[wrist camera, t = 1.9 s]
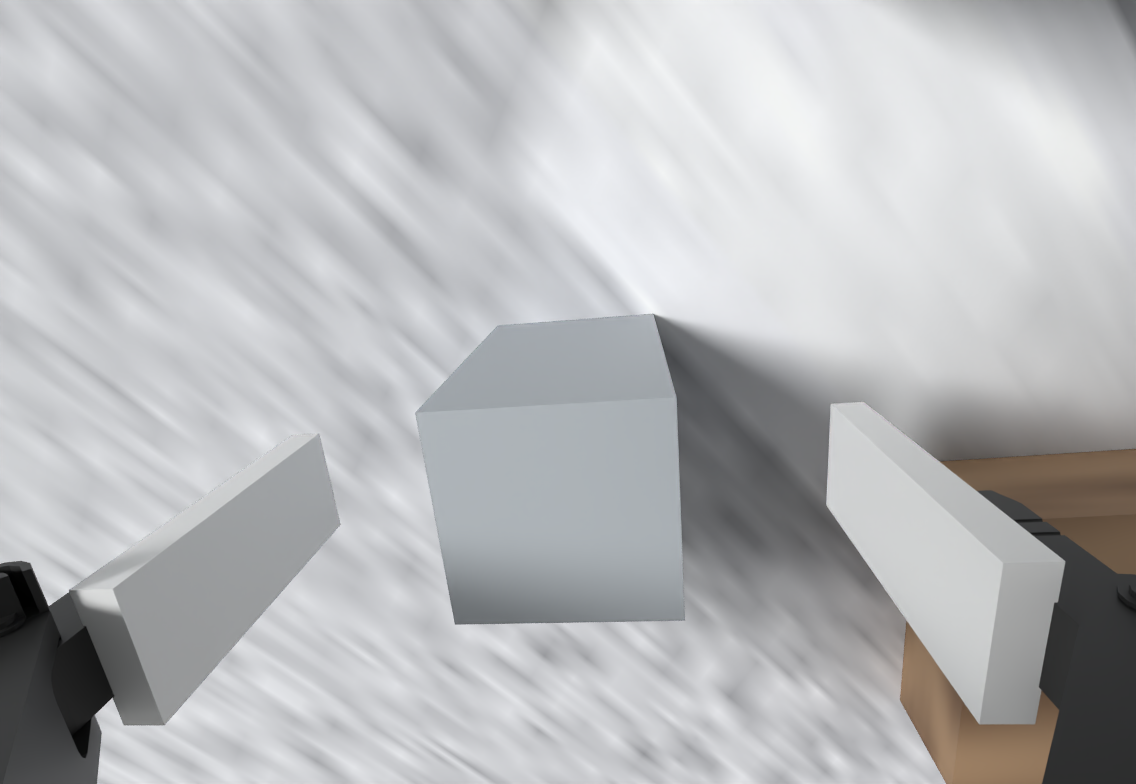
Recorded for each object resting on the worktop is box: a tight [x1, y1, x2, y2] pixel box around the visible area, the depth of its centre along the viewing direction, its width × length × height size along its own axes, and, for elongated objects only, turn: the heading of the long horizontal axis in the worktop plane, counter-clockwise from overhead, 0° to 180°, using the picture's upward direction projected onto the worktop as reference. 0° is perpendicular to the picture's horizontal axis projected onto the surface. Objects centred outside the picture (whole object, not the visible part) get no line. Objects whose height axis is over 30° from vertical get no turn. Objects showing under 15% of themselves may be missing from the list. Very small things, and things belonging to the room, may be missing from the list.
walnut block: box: [900, 449, 1136, 784], centre depth 18 cm, size 10×10×4 cm
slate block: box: [415, 314, 685, 624], centre depth 15 cm, size 5×5×8 cm
